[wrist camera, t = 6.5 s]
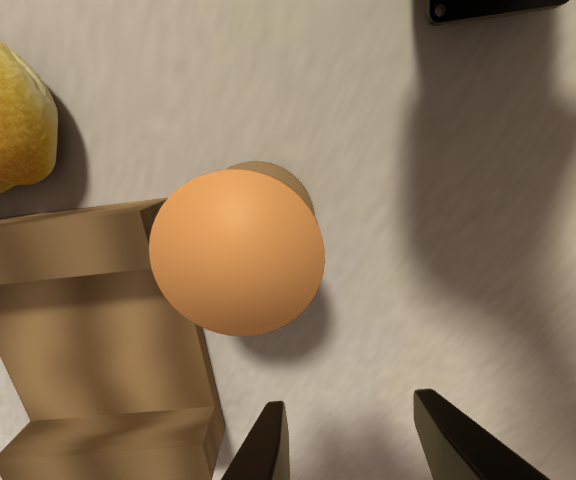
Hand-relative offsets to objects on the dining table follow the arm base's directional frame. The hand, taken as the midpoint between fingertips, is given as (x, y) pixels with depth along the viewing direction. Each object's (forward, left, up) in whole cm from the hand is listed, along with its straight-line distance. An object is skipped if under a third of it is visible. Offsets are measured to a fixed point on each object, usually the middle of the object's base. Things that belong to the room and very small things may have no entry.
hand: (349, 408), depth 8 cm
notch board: (+15, +5, -12) cm, 20 cm away
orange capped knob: (+3, -2, -12) cm, 13 cm away
